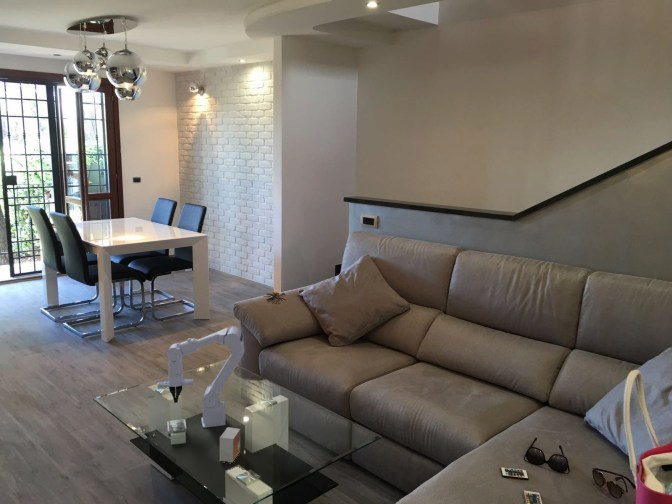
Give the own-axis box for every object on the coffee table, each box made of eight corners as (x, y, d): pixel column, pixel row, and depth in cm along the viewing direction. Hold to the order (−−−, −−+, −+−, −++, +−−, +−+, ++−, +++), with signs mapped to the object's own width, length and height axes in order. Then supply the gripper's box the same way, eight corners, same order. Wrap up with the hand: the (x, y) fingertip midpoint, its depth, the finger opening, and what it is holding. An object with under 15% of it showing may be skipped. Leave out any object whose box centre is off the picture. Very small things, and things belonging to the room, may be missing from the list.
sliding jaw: (183, 427, 237) (183, 419, 236) (184, 432, 234) (184, 423, 233) (169, 429, 235) (169, 420, 234) (170, 434, 232) (170, 425, 231)
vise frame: (185, 422, 242) (185, 413, 241) (188, 442, 227) (187, 433, 226) (167, 424, 239) (167, 415, 238) (168, 444, 224) (168, 435, 223)
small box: (233, 464, 214) (233, 439, 212) (219, 462, 215) (219, 437, 213) (240, 452, 222) (240, 428, 219) (227, 450, 223) (227, 426, 220)
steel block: (182, 433, 234) (182, 422, 232) (183, 440, 228) (183, 429, 227) (172, 434, 232) (172, 423, 231) (173, 442, 227) (173, 430, 226)
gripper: (192, 366, 243) (192, 395, 246) (157, 369, 238) (157, 399, 241) (193, 373, 236) (193, 403, 239) (157, 376, 232) (158, 407, 235)
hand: (175, 401), depth 240 cm, fingers closed
